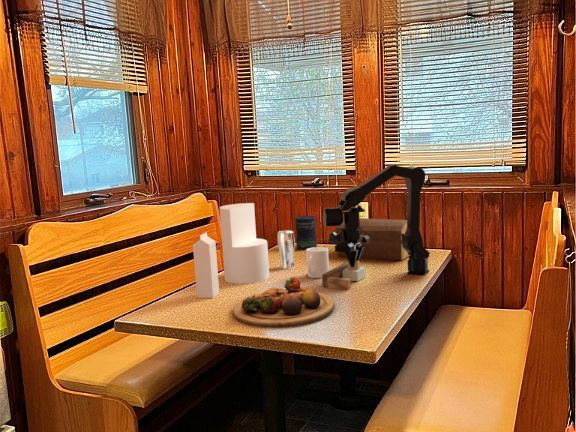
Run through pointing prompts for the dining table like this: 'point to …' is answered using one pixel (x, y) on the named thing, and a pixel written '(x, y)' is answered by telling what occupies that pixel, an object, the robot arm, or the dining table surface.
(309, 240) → the storage jar
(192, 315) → the dining table surface
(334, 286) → the cleat board
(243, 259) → the stepped white drum
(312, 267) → the mug
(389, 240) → the wooden bread box
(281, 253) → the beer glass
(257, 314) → the wooden plate with food
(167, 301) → the dining table surface
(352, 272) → the square base with post
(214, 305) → the dining table surface
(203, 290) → the milk
